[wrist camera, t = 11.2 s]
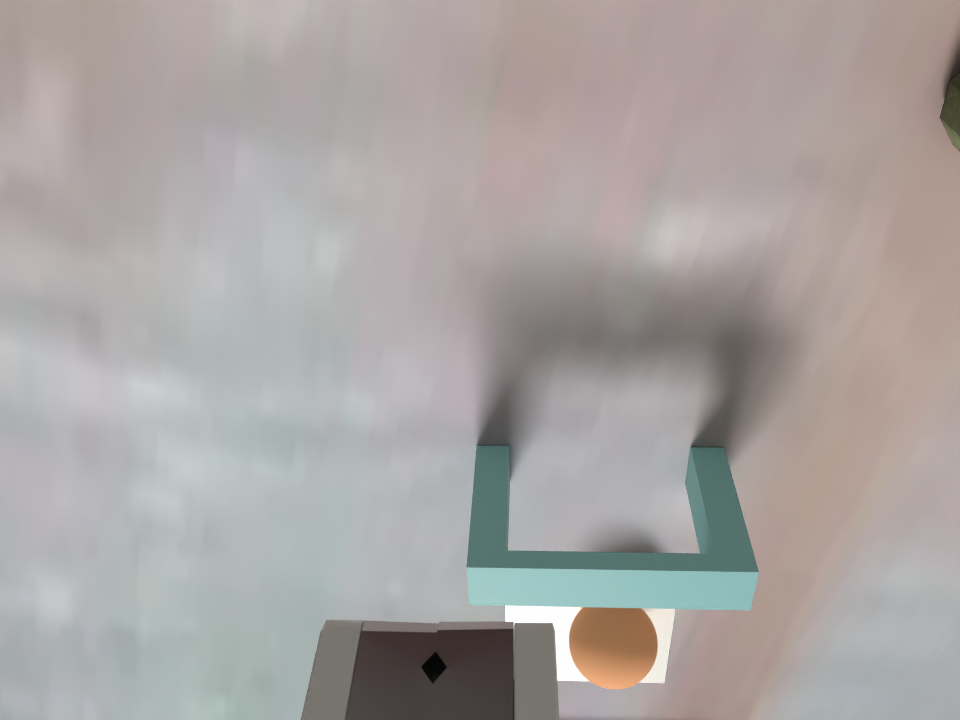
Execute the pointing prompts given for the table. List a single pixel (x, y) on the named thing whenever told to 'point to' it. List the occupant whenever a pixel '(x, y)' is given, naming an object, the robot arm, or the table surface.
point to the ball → (613, 645)
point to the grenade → (952, 111)
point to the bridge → (614, 575)
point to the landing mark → (562, 625)
